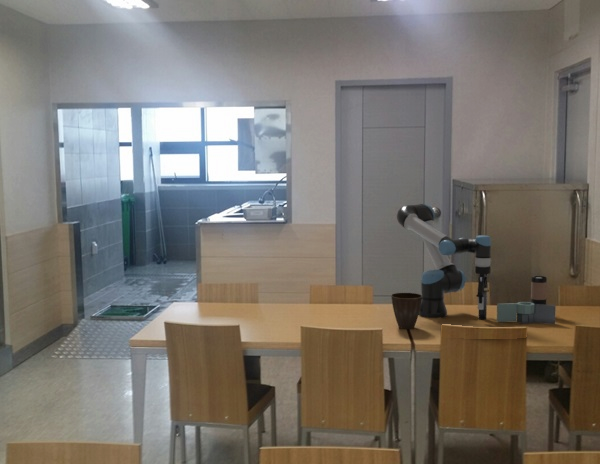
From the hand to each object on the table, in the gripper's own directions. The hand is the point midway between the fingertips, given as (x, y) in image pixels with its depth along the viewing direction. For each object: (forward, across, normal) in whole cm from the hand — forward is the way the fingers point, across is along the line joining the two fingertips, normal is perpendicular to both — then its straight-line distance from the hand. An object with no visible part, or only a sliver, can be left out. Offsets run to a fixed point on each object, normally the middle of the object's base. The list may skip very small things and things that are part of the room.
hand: (482, 306), depth 347 cm
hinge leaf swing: (+6, -2, -16) cm, 17 cm away
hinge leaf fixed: (+6, 0, -26) cm, 27 cm away
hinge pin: (+6, 0, 0) cm, 6 cm away
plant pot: (+6, -31, +32) cm, 45 cm away
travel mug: (+6, +19, -26) cm, 33 cm away
